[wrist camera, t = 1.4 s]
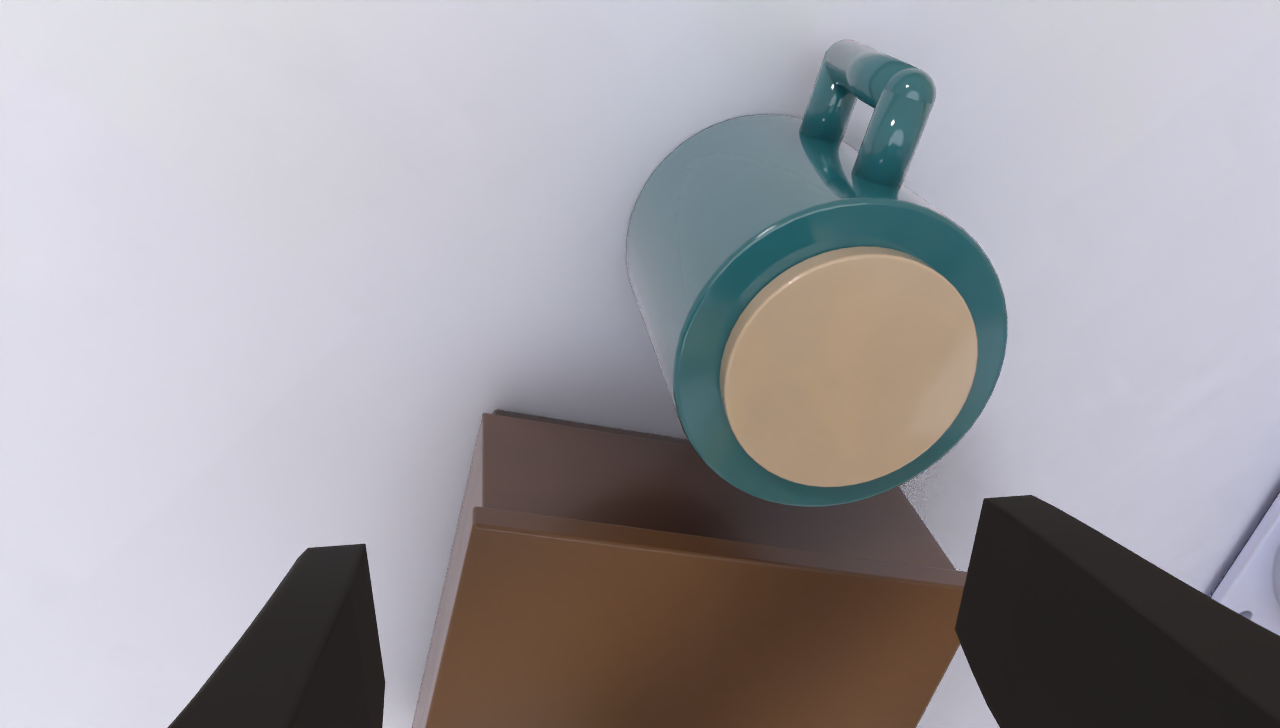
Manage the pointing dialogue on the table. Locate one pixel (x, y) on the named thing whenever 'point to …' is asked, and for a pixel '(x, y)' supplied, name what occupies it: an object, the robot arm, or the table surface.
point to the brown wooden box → (676, 595)
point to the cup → (816, 294)
